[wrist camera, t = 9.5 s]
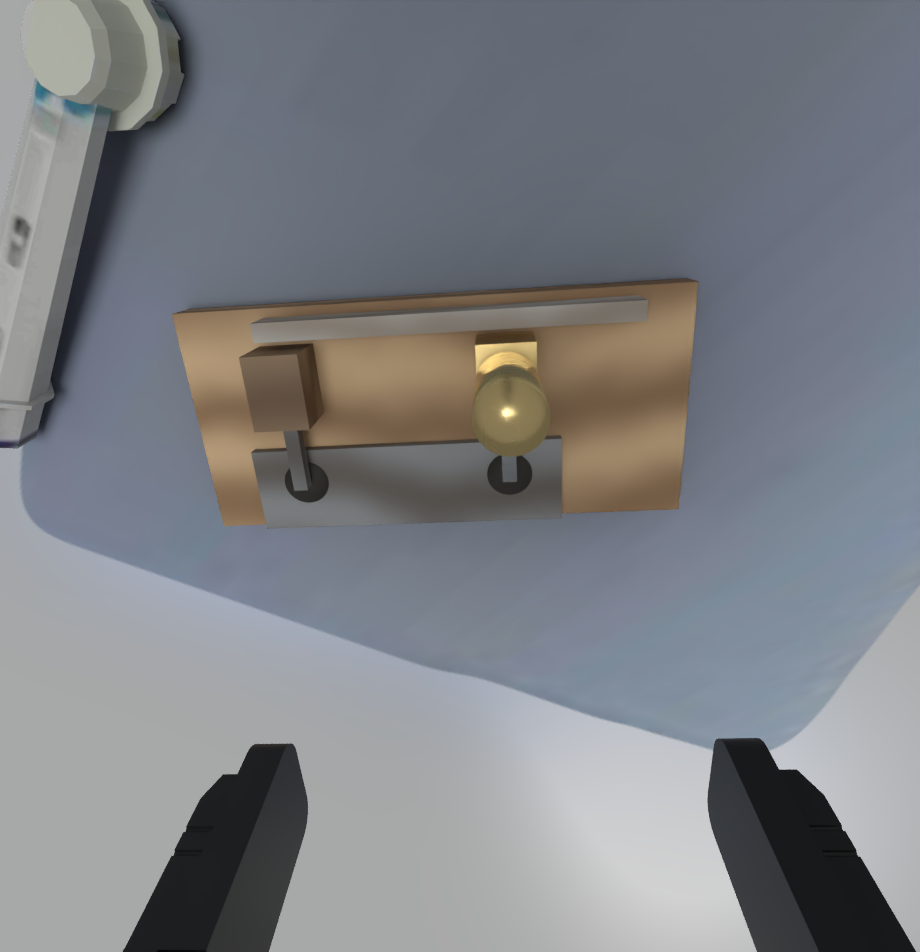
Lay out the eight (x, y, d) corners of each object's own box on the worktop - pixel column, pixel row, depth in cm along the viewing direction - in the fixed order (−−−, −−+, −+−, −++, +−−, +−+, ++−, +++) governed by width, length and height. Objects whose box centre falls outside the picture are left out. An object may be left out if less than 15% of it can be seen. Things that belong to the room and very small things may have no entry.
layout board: (188, 309, 34) (152, 319, 31) (686, 278, 32) (711, 285, 29) (236, 511, 39) (210, 541, 36) (669, 495, 37) (688, 524, 34)
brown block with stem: (259, 346, 33) (238, 357, 30) (313, 343, 33) (296, 354, 30) (285, 479, 36) (268, 500, 33) (334, 477, 36) (321, 498, 33)
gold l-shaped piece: (474, 334, 32) (469, 373, 24) (534, 331, 32) (550, 369, 23) (481, 472, 35) (479, 549, 27) (536, 469, 35) (551, 547, 26)
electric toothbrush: (-79, 418, 34) (-14, -94, 22) (11, 377, 39) (102, -46, 28) (11, 466, 35) (122, -1, 23) (87, 419, 40) (206, 27, 28)
